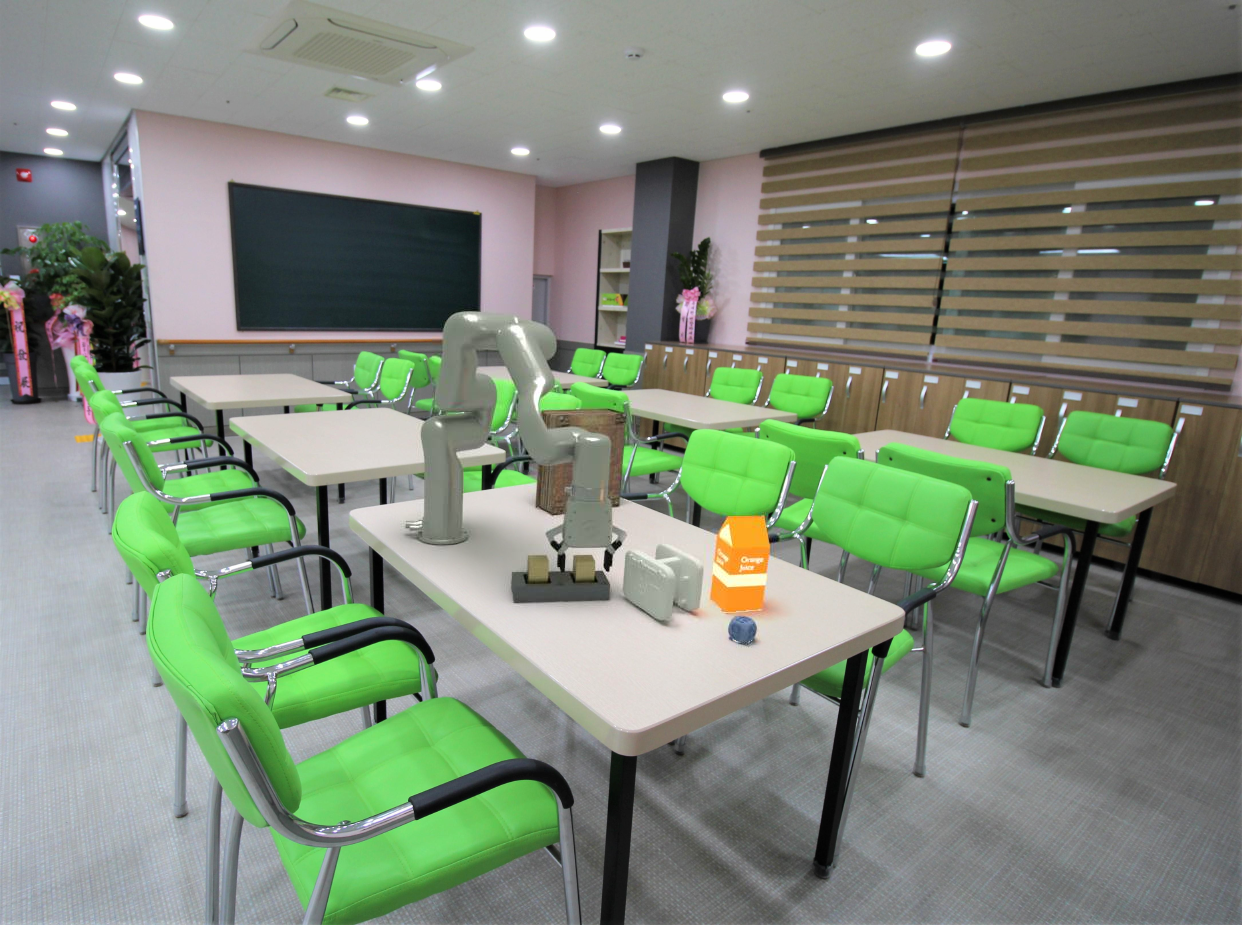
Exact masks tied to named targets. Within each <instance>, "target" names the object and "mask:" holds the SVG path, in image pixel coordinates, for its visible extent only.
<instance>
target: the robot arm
mask: <svg viewBox="0 0 1242 925" xmlns="http://www.w3.org/2000/svg"><path fill="white" fill-rule="evenodd" d="M476 350H484V351H486V350H487V351H489V350H490V351H498V352H499V355H500V357H501V359H502V361H503V363H504V366H505V368H506V369H507V372H508V373H509V376H510V378H511V381H512V383H513V385H514V387H515V389H516V390H517V393H518V396H519V397H518V401H517V404H516V414H515V420H516V422H515V423H516V428H517V432H518V435H519V437H520V439H521V441H522V443H523V446H524V447H525V448H524V449H525V450H526V452H527V453H528V455H529V456H530V458H531V459H532V460H533V461H534V463H537V465H538V464H540V465H543V466H550V465H556V464H561V463H569V462H573V477H572V483H571V485H570V486H569V487H565V493H568V494H570V495H571V497H569V498H568V501H567V504H566V509H565V514H563V522H562V524H559V525H558V526H555V527H553V528H552V529H549V530H547V531H546V532H545V536H546V538H547V540H548V542H549V545H550V546H551V548H552V549H554V550H555V551H556V553H557V558H556V559H557V560H556V567H557V568H559V571H561V573H564V572H565V571H566V561H567V558H566V557H567V556H566V551H567V550H568V549H569V548H573V549H579V548H580V549H590V548H592V549H593V548H595V549H597V548H598V549H600V548H605V550H604V552H603V553H604V554H603V555H604V556H603V565H602V566H603V569H604V570H605V572H607V573H610V569H611V568H612V567H613V560H614V554H615V553H616V551H617V550H618V549H619V548H620V547H621V546H623V543H624V542H625V540H626V538H627V537H628V534H627V532H626V531H624V530H623V529H621V528H619V527H617V526H615V525H614V524H613V507H612V505H611V500H610V499H608V498H607V495H608V481H609V467H610V454H611V440H610V438H609V437H608V436H606V435H603V434H598V433H591V432H588V431H586V430H584V429H582V428H579V427H564V428H563V427H562V428H553V429H548V428H547V427H546V425H545V423H544V421H543V418H542V416H541V411H540V410H541V409H540V401H541V399H542V398H543V397H544V396H546V395H547V394H548V393H550V392H551V391H552V390H553V388H554V387H555V385H556V378H555V376H554V374H553V372H552V370H551V367H550V366H549V364H548V361H549V360H551V358H552V357H554V356H555V353H556V352H557V340H556V336H555V333H554V332H553V331H552V330H551V328H550V327H548V326H547V325H545V324H543V323H540V322H537V321H534V320H530V319H527V318H526V317H525V318H524V317H521V316H519V315H515V314H510V313H501V312H500V313H498V312H489V311H488V312H487V311H470V310H468V311H460V312H456V313H455V312H454V314H453V313H452V315H450V316H449V317H448V319H447V320H446V321H445V323H444V327H443V329H442V354H441V359H440V360H441V361H440V364H439V369H438V374H437V379H436V380H437V381H436V386H435V392H434V403H435V405H436V407H437V408H438V409H439V410H440V411H442V412H444V413H447V414H440V415H434V416H432V417H429V418H427V419H426V420H425V421H424V422H423V424H422V426H421V427H420V440H421V445H422V446H421V447H422V450H423V451H422V452H423V459H424V460H423V462H424V463H423V464H424V465H423V466H424V467H423V468H424V471H423V472H424V473H423V474H424V476H423V477H424V493H423V495H424V496H423V517H422V519H418V520H417V521H414V520H406V521H405V525H404V526H405V527H404V528H405V529H409V531H417V535H416V536H417V539H418V540H420V542H423V543H427V544H430V545H442V546H443V545H453V544H454V545H455V544H459V543H462V542H463V541H466V540H467V539H468V538H469V531H468V530H467V529H465V528H463V512H464V511H463V510H464V506H463V504H464V466H463V465H462V462H461V461H460V459H459V457H458V455H457V453H459V452H465V451H466V452H467V451H472V450H473V451H474V450H478V449H480V448H482V447H483V446H484V445H485V444H486V443H487V440H488V438H489V436H490V433H491V427H492V424H493V420H494V415H495V410H496V406H497V402H498V390H497V386H496V383H495V381H494V380H493V378H492V377H491V376H490V375H488V374H486V373H481V372H477V370H478V364H479V360H478V359H479V358H478V355H477V351H476ZM559 534H561V535H562V536H561V537H562V540H561V541H560V542H559V543H558V541H556V540H555V537H556V536H558V535H559ZM613 534H615V535H616V536H617V538H616V539H614V541H613ZM612 541H613V542H612Z"/></svg>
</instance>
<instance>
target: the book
mask: <svg viewBox="0 0 1242 925" xmlns="http://www.w3.org/2000/svg"><path fill="white" fill-rule="evenodd" d="M540 413H541V416H542V418H543V421H544V423H545V425H546V427H547V428H548V429H553V428H562V427H563V428H564V427H579V428H582V429H584V430H586V431H588V432H591V433H598V434H603V435H606V436H608V437H609V438H610V440H611V454H610V467H609V481H608V495H607V498H608V499H610V500H611V505H612V508H616V507H620V504H621V503H620V502H621V488H622V479H623V478H622V476H623V462H624V452H625V451H624V449H625V439H626V438H625V437H626V427H627V426H626V425H627V416H628V415H627V413H626V412H623V411H619V410H616V409H611V408H575V409H573V408H572V409H571V408H570V409H542V410H541V411H540ZM536 477H537V478H536V491H535V492H536V493H535V509H538V508H537V507H541V508H540V509H543V510H545V511H547V512H549V513H550V515H551V516H553V517H554V515H556V516H562V514H563V515H564V514H565V509H566V504H567V501H568V498H569V497H571V495H570V494H568V493H565V487H569V486H570V485H571V483H572V477H573V462H569V463H561V464H556V465H550V466H543V465H540V464H538V463H537V476H536Z"/></svg>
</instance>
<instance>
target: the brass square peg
mask: <svg viewBox="0 0 1242 925" xmlns="http://www.w3.org/2000/svg"><path fill="white" fill-rule="evenodd" d="M572 558H573V559H572V570H571V571H572V581H573V583H594V576H595V571H596V560H595V558H594V557H593V554H573V556H572Z"/></svg>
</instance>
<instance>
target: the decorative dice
mask: <svg viewBox="0 0 1242 925" xmlns="http://www.w3.org/2000/svg"><path fill="white" fill-rule="evenodd" d="M757 626H758V625H757V624H756V622H755V620H754V619H753V618H751V617H749V616H748V615H747V616H746V615H735V616H734V617H733V618H731V620H730V621H729V625H728V628H727V633H728V635H729V637H730V639H731V640H732V639H734V640H736V641H738V642H740V643H739V644H742V643H747V644H749V643H748V642H749V641H751V640H752V641H754V639H755V637H756V636H757V630H758V627H757Z"/></svg>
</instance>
